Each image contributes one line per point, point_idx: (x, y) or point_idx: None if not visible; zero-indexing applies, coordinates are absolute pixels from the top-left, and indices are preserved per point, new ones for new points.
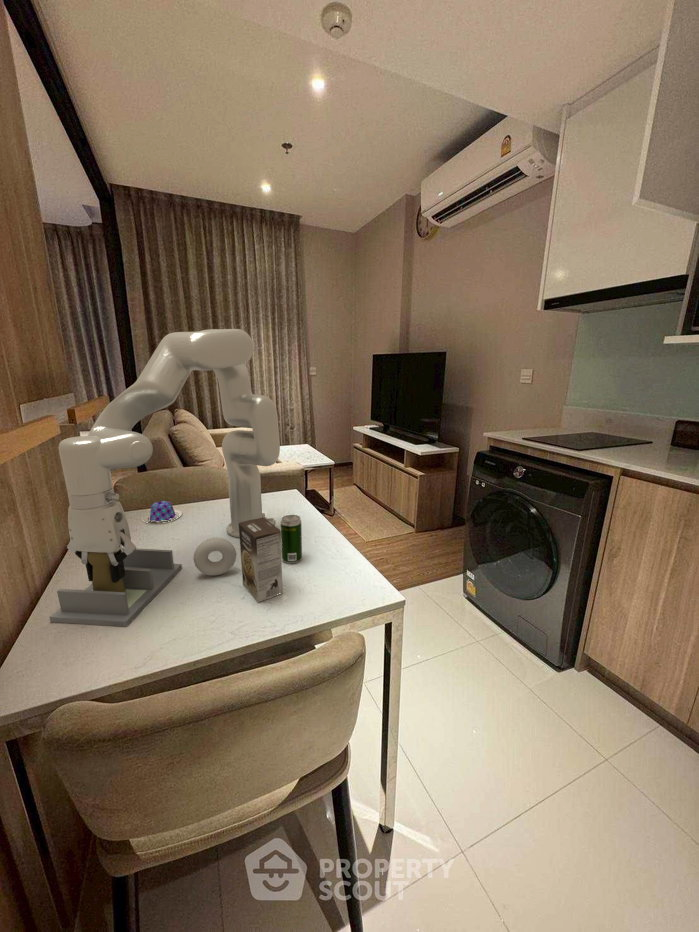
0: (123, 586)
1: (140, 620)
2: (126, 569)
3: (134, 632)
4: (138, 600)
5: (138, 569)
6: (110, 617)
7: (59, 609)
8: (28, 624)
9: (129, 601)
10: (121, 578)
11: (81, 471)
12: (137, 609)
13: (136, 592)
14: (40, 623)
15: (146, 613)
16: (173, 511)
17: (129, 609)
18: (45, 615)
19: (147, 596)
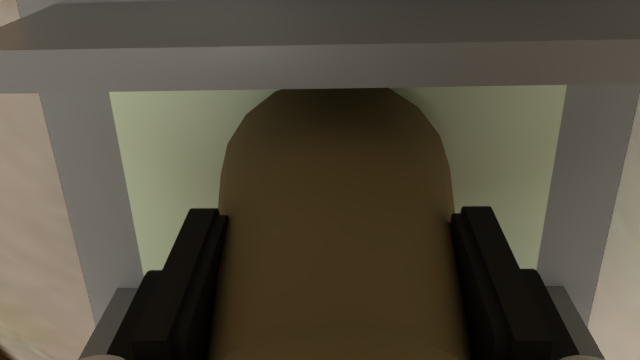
0: (448, 176)
1: (625, 275)
2: (424, 80)
3: (632, 354)
4: (562, 167)
5: (573, 63)
6: None
7: (91, 293)
8: (17, 347)
9: (507, 195)
10: (446, 203)
11: None
12: (602, 254)
13: (502, 86)
14: (70, 337)
15: (636, 218)
16: None
17: (546, 257)
18: (25, 284)
19: (612, 115)
